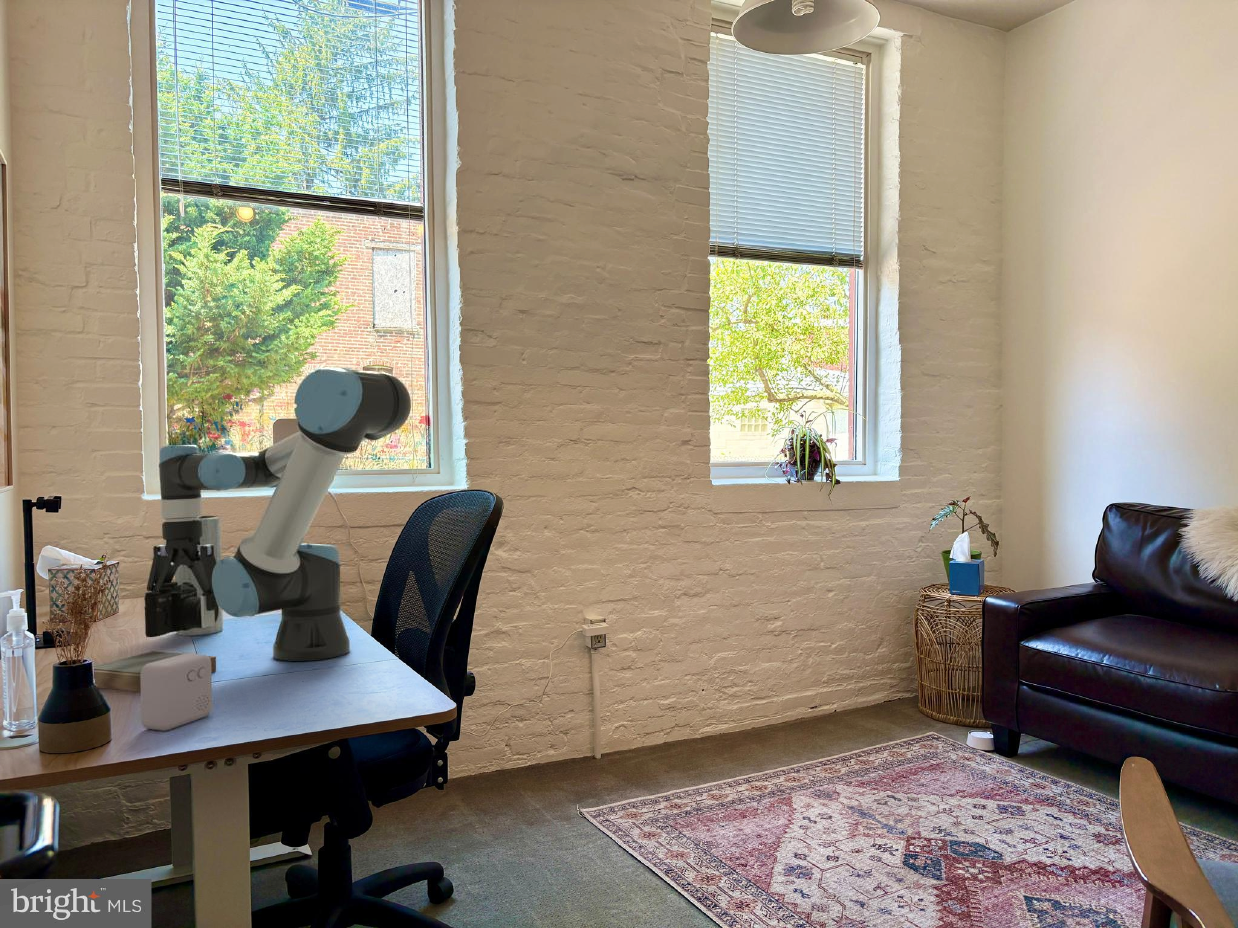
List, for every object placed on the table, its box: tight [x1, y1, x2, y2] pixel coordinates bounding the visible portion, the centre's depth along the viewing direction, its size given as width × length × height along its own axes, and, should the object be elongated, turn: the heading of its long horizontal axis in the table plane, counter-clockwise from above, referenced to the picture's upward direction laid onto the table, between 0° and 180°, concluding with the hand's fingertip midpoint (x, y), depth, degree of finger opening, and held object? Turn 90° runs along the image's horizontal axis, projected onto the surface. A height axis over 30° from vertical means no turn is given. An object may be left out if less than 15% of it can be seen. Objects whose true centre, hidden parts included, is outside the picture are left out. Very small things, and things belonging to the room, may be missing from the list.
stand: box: [93, 650, 217, 693], centre depth 169 cm, size 16×16×3 cm
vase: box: [174, 515, 224, 637], centre depth 212 cm, size 10×10×27 cm
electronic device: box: [140, 652, 213, 732], centre depth 141 cm, size 10×5×10 cm, turn 158°
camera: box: [143, 581, 219, 638], centre depth 186 cm, size 14×11×10 cm
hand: (186, 625), depth 186 cm, fingers closed on camera, 11 cm apart
